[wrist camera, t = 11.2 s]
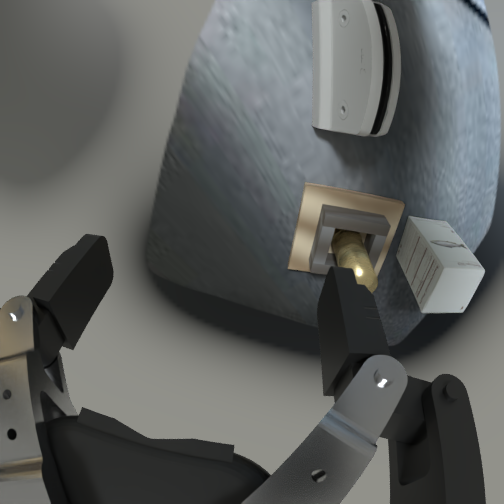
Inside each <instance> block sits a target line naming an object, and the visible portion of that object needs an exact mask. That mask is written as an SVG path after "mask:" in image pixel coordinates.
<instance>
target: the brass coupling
mask: <svg viewBox="0 0 504 504" xmlns="http://www.w3.org/2000/svg"><path fill="white" fill-rule="evenodd" d="M331 243H332V247H333V250H334V252H335V256H336V260H337V264H338V267H344V268H352V269H353V271H354V274H355V277H356V281H357V284H362V285H365V286H366V287H367V288H368V290H369V291H370V292H371V293H373V292H374V291H375V289H376V288H377V285H378V279H377V276H376V274H375V271H374V268H373V266H372V263H371V261H370V258H369V256H368V253H367V251H366V248H365V246H364V244H363V241H362V237H361V235H360V232H356V231H350V230H344V229H338V228H336V229H335V231H334V234H333V238H332V241H331Z"/></svg>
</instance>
